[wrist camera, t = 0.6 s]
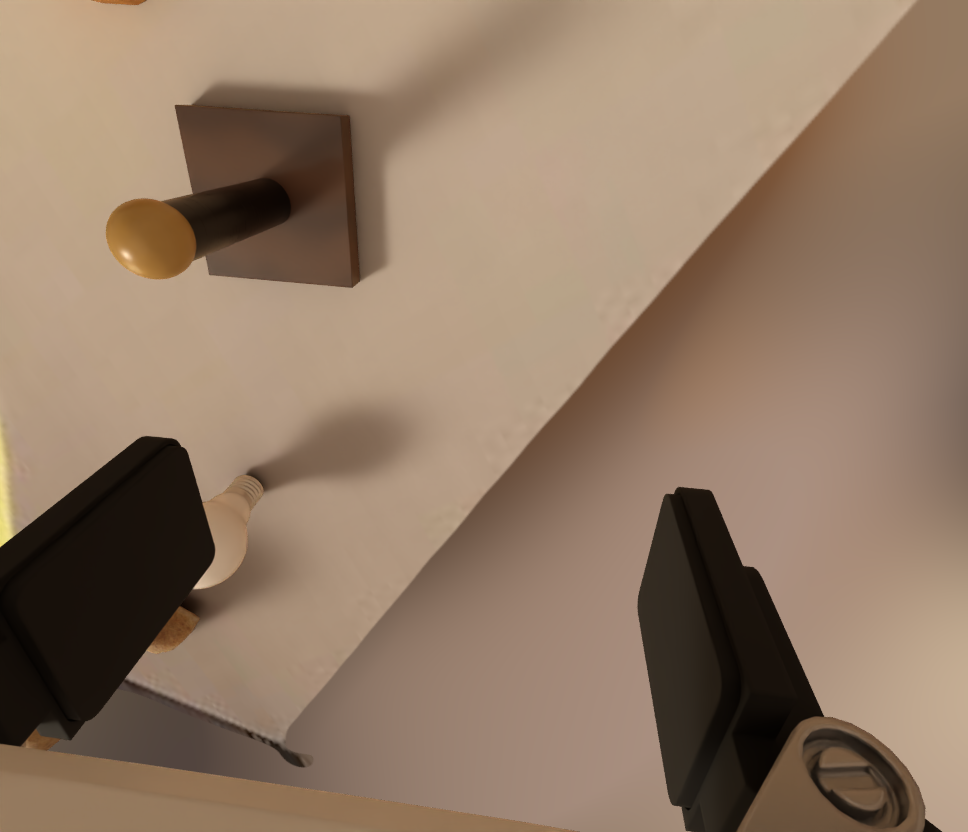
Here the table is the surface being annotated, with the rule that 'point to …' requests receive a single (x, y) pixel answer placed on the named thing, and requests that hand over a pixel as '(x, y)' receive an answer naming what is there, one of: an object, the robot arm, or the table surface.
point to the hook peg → (192, 225)
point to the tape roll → (121, 1)
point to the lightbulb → (229, 528)
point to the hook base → (299, 170)
